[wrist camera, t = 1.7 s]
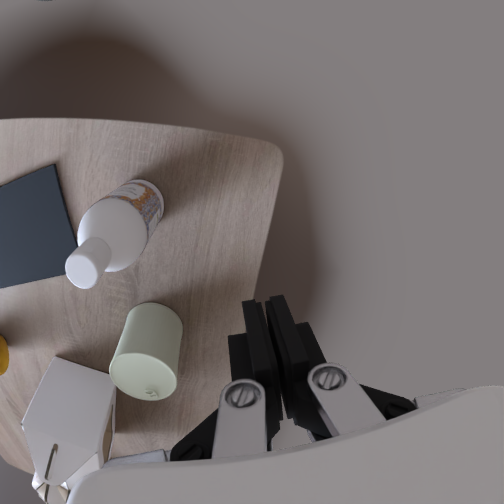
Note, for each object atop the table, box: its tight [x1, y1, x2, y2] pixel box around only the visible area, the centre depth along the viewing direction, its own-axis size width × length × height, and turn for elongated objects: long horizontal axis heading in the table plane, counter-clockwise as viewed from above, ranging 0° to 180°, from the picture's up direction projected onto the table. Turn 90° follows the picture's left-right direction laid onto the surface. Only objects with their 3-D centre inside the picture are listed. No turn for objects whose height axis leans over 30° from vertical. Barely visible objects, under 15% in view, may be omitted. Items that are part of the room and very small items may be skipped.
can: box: [109, 303, 183, 401], centre depth 40 cm, size 9×9×12 cm
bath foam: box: [65, 180, 164, 289], centre depth 29 cm, size 7×7×20 cm
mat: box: [0, 164, 79, 288], centre depth 36 cm, size 22×16×1 cm
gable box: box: [21, 356, 117, 504], centre depth 38 cm, size 22×13×28 cm, turn 161°
